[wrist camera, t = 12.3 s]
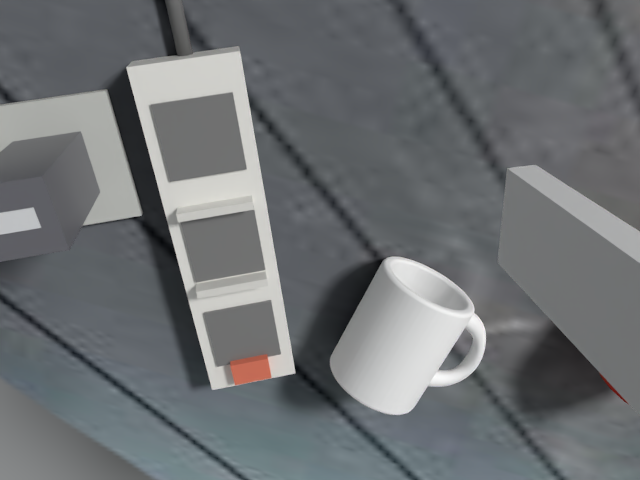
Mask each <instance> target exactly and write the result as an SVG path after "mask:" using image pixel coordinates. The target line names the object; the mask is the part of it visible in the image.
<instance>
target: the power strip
mask: <svg viewBox="0 0 640 480" xmlns="http://www.w3.org/2000/svg"><path fill="white" fill-rule="evenodd" d="M165 3H166V7H167V11H168V16H169V20H170V25H171V29H172V34H173V38H174V43H175V47H176V52H177V55H173V56H166V57H159V58H152V59H145V60H138V61H132V62H131V63H130V64H129V65H128V66H127V67H126V69H127V73H128V76H129V80H130V84H131V88H132V91H133V95H134V99H135V103H136V106H137V110H138V114H139V117H140V121H141V125H142V129H143V132H144V136H145V140H146V144H147V147H148V151H149V155H150V159H151V162H152V166H153V170H154V174H155V177H156V181H157V185H158V189H159V192H160V196H161V200H162V204H163V207H164V211H165V215H166V219H167V222H168V226H169V230H170V234H171V237H172V241H173V245H174V249H175V252H176V256H177V260H178V264H179V267H180V271H181V275H182V279H183V282H184V286H185V290H186V294H187V297H188V301H189V305H190V309H191V312H192V316H193V320H194V324H195V327H196V331H197V335H198V339H199V342H200V346H201V350H202V354H203V357H204V361H205V365H206V369H207V372H208V376H209V380H210V384H211V387H212V390H215V389H220V388H225V387H230V386H235V385H240V384H245V383H250V382H255V381H260V380H265V379H270V378H275V377H280V376H285V375H290V374H295V367H294V361H293V356H292V350H291V344H290V338H289V332H288V327H287V321H286V315H285V309H284V303H283V298H282V292H281V286H280V280H279V275H278V269H277V263H276V257H275V251H274V246H273V240H272V234H271V228H270V222H269V217H268V211H267V205H266V199H265V193H264V188H263V182H262V176H261V170H260V165H259V159H258V153H257V147H256V141H255V136H254V130H253V124H252V118H251V112H250V107H249V101H248V95H247V89H246V84H245V78H244V72H243V66H242V60H241V55H240V50H239V46H236V47H229V48H222V49H215V50H208V51H201V52H194V53H193V52H192V47H191V42H190V37H189V33H188V28H187V23H186V18H185V14H184V9H183V4H182V0H165Z"/></svg>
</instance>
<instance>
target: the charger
mask: <svg viewBox="0 0 640 480" xmlns="http://www.w3.org/2000/svg"><path fill="white" fill-rule="evenodd" d="M99 194H100V189H99V186H98V183H97V180H96V177H95V174H94V171H93V167H92V164H91V161H90V158H89V155H88V152H87V149H86V146H85V142H84V139H83V136H82V133H81V131H79V132H72V133H66V134H59V135H53V136H46V137H40V138H33V139H26V140H20V141H13V142H12V143H10V144H9V145H8V146H7V147H6V148H4V149H3V150H2V151H1V152H0V262H2V261H8V260H14V259H20V258H26V257H31V256H37V255H43V254H49V253H55V252H60V251H66V250H70V248H71V246H72V244H73V243H74V241H75V239H76V237H77V235H78V233H79V231H80V229H81V228H82V226H83V224H84V222H85V220H86V218H87V216H88V214H89V213H90V211H91V209H92V207H93V205H94V203H95V201H96V199H97V198H98V196H99Z"/></svg>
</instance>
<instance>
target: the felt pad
mask: <svg viewBox="0 0 640 480" xmlns="http://www.w3.org/2000/svg"><path fill="white" fill-rule="evenodd" d="M79 131H81V133H82V136H83V139H84V142H85V146H86V149H87V152H88V155H89V158H90V161H91V164H92V167H93V171H94V174H95V177H96V180H97V183H98V186H99V189H100V194H99V196H98V198H97V199H96V201H95V203H94V205H93V207H92V209H91V211H90V213H89V214H88V216H87V218H86V220H85V222H84V224H83V226H84V225H89V224H95V223H101V222H107V221H113V220H119V219H125V218H131V217H137V216H142V213H143V212H142V208H141V205H140V201H139V198H138V194H137V191H136V187H135V184H134V180H133V177H132V173H131V170H130V166H129V163H128V159H127V156H126V152H125V149H124V145H123V142H122V138H121V135H120V131H119V128H118V125H117V121H116V118H115V114H114V111H113V107H112V104H111V100H110V97H109V93H108V90H107V89H104V90H98V91H91V92H84V93H77V94H70V95H63V96H56V97H50V98H43V99H36V100H29V101H22V102H15V103H9V104H2V105H0V152H1V151H2V150H3V149H4V148H6V147H7V146H8V145H9V144H10V143H12V142H13V141H20V140H26V139H33V138H40V137H46V136H53V135H59V134H66V133H72V132H79Z"/></svg>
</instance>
